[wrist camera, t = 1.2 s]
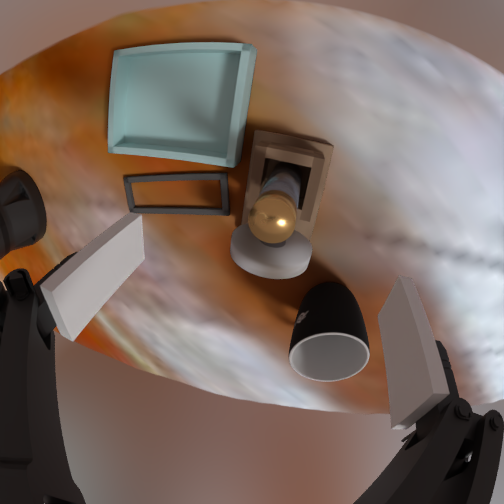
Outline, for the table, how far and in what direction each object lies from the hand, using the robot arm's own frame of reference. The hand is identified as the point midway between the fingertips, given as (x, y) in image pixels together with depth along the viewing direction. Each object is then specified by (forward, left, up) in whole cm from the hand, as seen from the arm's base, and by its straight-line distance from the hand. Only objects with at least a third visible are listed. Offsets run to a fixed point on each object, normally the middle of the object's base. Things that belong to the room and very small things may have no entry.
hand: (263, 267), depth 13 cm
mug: (+9, -17, -18) cm, 26 cm away
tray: (-13, +7, -18) cm, 23 cm away
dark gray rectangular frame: (-13, -5, -18) cm, 23 cm away
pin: (0, 0, -17) cm, 17 cm away
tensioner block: (0, -2, -18) cm, 18 cm away
